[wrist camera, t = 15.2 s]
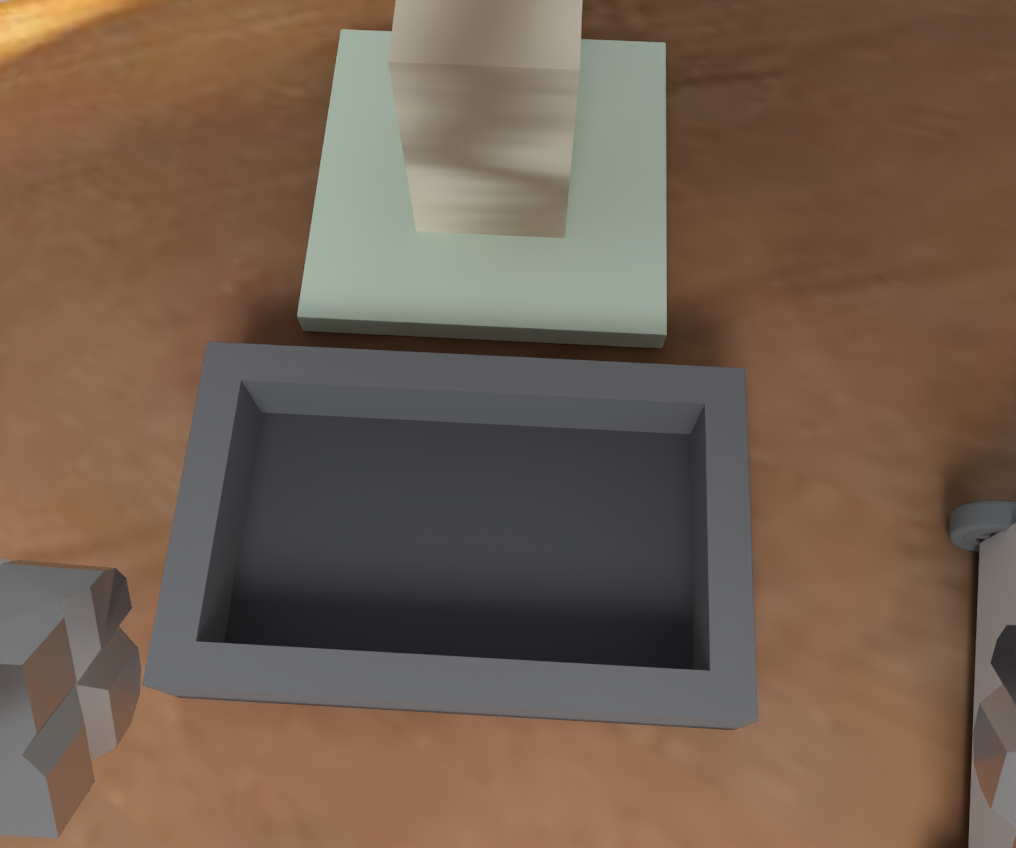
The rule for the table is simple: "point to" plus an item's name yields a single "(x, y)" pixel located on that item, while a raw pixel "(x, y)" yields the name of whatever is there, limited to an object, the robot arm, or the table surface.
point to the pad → (494, 258)
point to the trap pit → (463, 538)
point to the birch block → (487, 112)
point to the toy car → (988, 630)
